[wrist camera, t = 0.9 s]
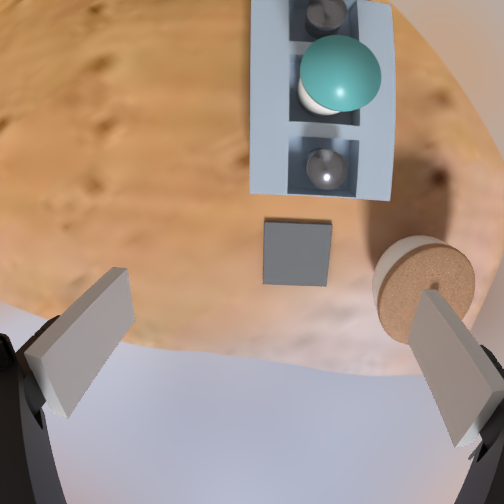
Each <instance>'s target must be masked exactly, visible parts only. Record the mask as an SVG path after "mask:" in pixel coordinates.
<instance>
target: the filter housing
mask: <svg viewBox="0 0 504 504" xmlns="http://www.w3.org/2000/svg"><path fill="white" fill-rule="evenodd" d="M309 1H310V0H251V67H250V194H272V195H299V196H319V197H337V198H353V199H367V200H380V201H390V196H391V185H392V174H393V160H394V142H395V110H396V82H395V51H394V35H393V22H392V11H391V5H388V4H383V3H378V2H373V1H367V0H343V1H344V2H345V4H346V6H347V10H348V13H347V16H346V18H345V20H344V22H343V23H342V25H341V27H340V29H339V31H338V32H337V34H336V35H343V36H348V37H351V38H354V39H356V40H358V41H360V42H361V43H363V44H364V45H366V46H367V47H368V48H369V49H370V50H371V51H372V53H373V54H374V55H375V57H376V59H377V61H378V63H379V65H380V69H381V85H380V89H379V91H378V93H377V95H376V96H375V98H374V99H373V100H372V101H371V102H370V103H368V104H367V105H365V106H364V107H362V108H359V109H356V110H353V111H347V112H339V113H336V114H333V115H331V116H328V117H316V116H313V115H310V114H309V113H307V112H306V111H305V110H303V108H302V107H301V106H300V104H299V102H298V100H297V96H296V90H297V86H298V82H299V79H300V65H301V61H302V58H303V55H304V53H305V51H306V50H307V48H308V47H309V46H310V45H311V44H312V43H313V42H315V41H316V40H318V39H315V38H313V37H312V36H310V35H309V34H308V32H307V31H306V29H305V19H306V14H307V8H308V3H309ZM315 148H326V149H329V150H332V151H335V152H337V153H339V154H340V155H341V156H342V157H343V158H344V160H345V161H346V164H347V168H348V172H347V177H346V179H345V181H344V182H343V184H342V185H340V186H339V187H337V188H335V189H332V190H324V189H321V188H318V187H317V186H315V185H314V184H313V183H312V181H311V180H310V178H309V177H308V175H307V173H306V172H305V169H304V159H305V157H306V155H307V154H308V153H309V152H310V151H311V150H313V149H315Z"/></svg>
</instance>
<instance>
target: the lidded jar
mask: <svg viewBox="0 0 504 504" xmlns="http://www.w3.org/2000/svg"><path fill="white" fill-rule="evenodd" d="M422 289H432V290H437V291H438V292H439V293H440V295H441V296H442V297H443V298H444V299H445V301H446V302H447V303H448V304H449V306H450V307H451V308H452V309H453V311H454V312H455V313H456V314H457V316H458V317H459V318H460V320H462V319H463V318H464V316H465V315H466V313H467V311H468V310H469V307H470V305H471V303H472V300H473V297H474V291H475V275H474V271H473V267H472V265H471V263H470V261H469V260H468V259H467V258H466V256H465V255H464V254H462V253H461V252H460V251H459V250H457V249H456V248H454V247H452V246H450V245H449V244H447V243H446V242H444V241H442V240H440V239H437V238H434V237H431V236H426V235H415V236H409V237H406V238H403V239H401V240H399V241H397V242H395V243H394V244H393V245H391V246H390V247H389V248H388V249H387V250H386V251H385V252H384V253H383V255H382V256H381V258H380V259H379V261H378V263H377V265H376V268H375V271H374V275H373V280H372V292H373V299H374V303H375V307H376V310H377V312H378V316H379V319H380V322H381V324H382V326H383V328H384V330H385V331H386V333H387V334H388V335H389V336H390V337H391V338H393V339H394V340H396V341H398V342H400V343H403V344H407V345H409V343H408V341H407V338H408V335H409V332H410V329H411V326H412V323H413V320H414V317H415V313H416V310H417V307H418V303H419V300H420V296H421V293H422Z"/></svg>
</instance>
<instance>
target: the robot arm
mask: <svg viewBox="0 0 504 504" xmlns="http://www.w3.org/2000/svg"><path fill="white" fill-rule="evenodd" d="M134 321H135V317H134V311H133V305H132V298H131V291H130V284H129V276H128V269H127V268H118V267H113V268H111V269H110V270H109V271H108V272H107V273H106V274H105V275H104V276H102V277H101V278H100V279H99V280H98V281H97V282H96V283H95V284H94V285H93V286H91V287H90V288H89V289H88V290H87V291H86V292H85V293H84V294H83V295H82V296H81V297H80V298H79V299H78V300H76V301H75V302H74V303H73V304H72V305H71V306H70V307H69V308H68V309H67V310H66V311H65V312H64V313H63V314H62V315H61V316H60V315H58V316H56V317H54V318H52V319H50V320H48V321H47V322H46V323H45V324H44V325H43V326H42V327H41V328H40V330H38V331H37V332H36V333H35V335H34V336H32V337H31V338H30V339H29V340H28V341H27V342H26V343H25V344H24V345H23V346H22V347H21V348H20V349H19V350H18V351H17V352H16V353H15V351H14V349H13V346H12V344H11V341H10V339H9V337H8V336H7V335H6V334H2V333H0V504H67V503H66V500H65V497H64V494H63V491H62V487H61V484H60V481H59V477H58V474H57V470H56V466H55V462H54V458H53V454H52V450H51V445H50V441H49V436H48V431H47V426H46V420H45V415H44V412H43V410H42V408H41V407H42V406H43V404H44V403H45V402H47V404H48V406H49V408H50V410H51V412H52V413H55V414H57V415H60V416H62V417H65V418H67V419H68V418H69V417H70V415H71V413H72V412H73V410H74V409H75V407H76V406H77V404H78V403H79V401H80V400H81V398H82V396H83V395H84V393H85V392H86V390H87V389H88V387H89V386H90V384H91V383H92V381H93V380H94V378H95V377H96V376H97V374H98V372H99V371H100V370H101V368H102V367H103V365H104V364H105V362H106V361H107V359H108V358H109V356H110V355H111V354H112V352H113V351H114V349H115V348H116V346H117V345H118V343H119V342H120V341H121V339H122V338H123V336H124V335H125V334H126V332H127V331H128V329H129V328H130V327H131V325H132V324H133V322H134ZM407 341H408V343H409V345H410V347H411V349H412V351H413V353H414V355H415V357H416V360H417V362H418V364H419V366H420V368H421V370H422V372H423V374H424V377H425V379H426V381H427V383H428V385H429V387H430V390H431V392H432V394H433V397H434V399H435V401H436V403H437V406H438V408H439V410H440V413H441V415H442V417H443V420H444V422H445V425H446V427H447V430H448V432H449V435H450V437H451V440H452V443H453V445H454V448H457V447H462V446H466V445H470V444H472V442H473V441H474V440H475V439H476V437H477V436H478V434H479V433H480V435H481V437H482V441H481V443H480V444H479V445H478V447H477V448H476V449H475V450H474V452H473V453H472V454H471V455H470V457H469V458H468V459H469V460H470V459H471V458H472V457H473V456H474V459H473V462H472V464H471V467H470V470H469V472H468V474H467V477H466V479H465V482H464V484H463V486H462V488H461V491H460V493H459V495H458V497H457V499H456V501H455V503H454V504H504V369H502V366H501V365H500V364H499V362H497V359H496V358H495V356H494V355H493V354H492V352H491V351H489V350H488V349H487V348H486V347H484V346H483V345H479V344H478V342H477V341H476V339H475V338H474V337H473V336H472V334H471V333H470V331H469V330H468V329H467V327H466V326H465V325H464V323H463V322H462V321H461V320H460V318H459V317H458V316H457V314H456V313H455V312H454V311H453V309H452V308H451V307H450V306H449V304H448V303H447V302H446V301H445V299H444V298H443V297H442V296H441V295H440V293H439V292H438V291H437V290H432V289H422V293H421V296H420V300H419V303H418V307H417V310H416V313H415V317H414V320H413V323H412V326H411V329H410V332H409V335H408V338H407Z"/></svg>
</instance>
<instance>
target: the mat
mask: <svg viewBox="0 0 504 504" xmlns="http://www.w3.org/2000/svg"><path fill="white" fill-rule="evenodd" d="M331 236H332V224H314V223H291V222H265V227H264V273H263V284H273V285H298V286H326V284H327V276H328V267H329V257H330V247H331Z"/></svg>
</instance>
